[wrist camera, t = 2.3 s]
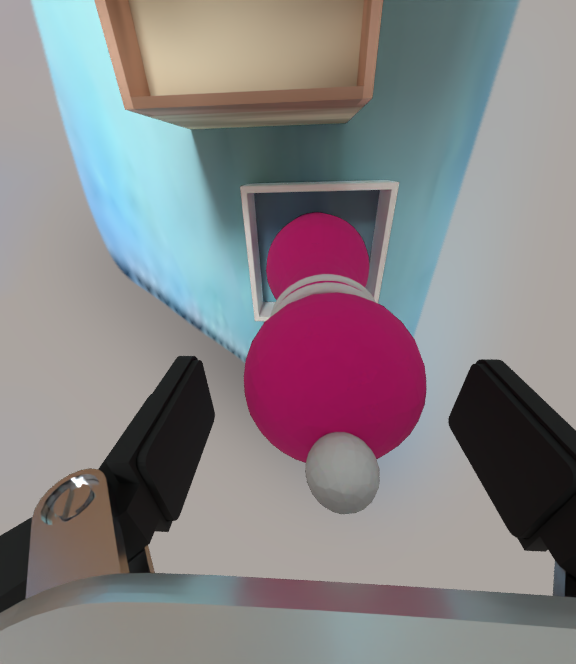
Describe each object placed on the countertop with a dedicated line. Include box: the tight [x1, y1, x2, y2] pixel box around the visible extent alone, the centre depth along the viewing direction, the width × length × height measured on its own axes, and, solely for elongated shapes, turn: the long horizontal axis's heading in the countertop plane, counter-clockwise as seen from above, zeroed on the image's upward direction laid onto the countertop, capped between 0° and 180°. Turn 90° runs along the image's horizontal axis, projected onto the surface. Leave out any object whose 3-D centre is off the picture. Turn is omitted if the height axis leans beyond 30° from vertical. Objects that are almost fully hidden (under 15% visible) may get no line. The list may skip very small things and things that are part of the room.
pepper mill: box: [244, 212, 426, 514], centre depth 14 cm, size 7×7×20 cm
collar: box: [240, 180, 399, 321], centre depth 21 cm, size 10×10×3 cm
